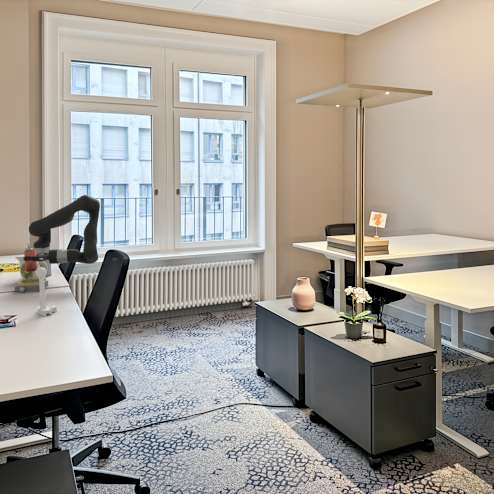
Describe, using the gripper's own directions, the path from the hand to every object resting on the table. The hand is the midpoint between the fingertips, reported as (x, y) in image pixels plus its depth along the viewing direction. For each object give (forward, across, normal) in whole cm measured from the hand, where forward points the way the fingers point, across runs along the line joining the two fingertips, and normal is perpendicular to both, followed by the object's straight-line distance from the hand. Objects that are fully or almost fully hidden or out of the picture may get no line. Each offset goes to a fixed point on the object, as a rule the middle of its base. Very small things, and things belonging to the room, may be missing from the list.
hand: (25, 257), depth 269 cm
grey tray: (-2, +1, +17) cm, 17 cm away
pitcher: (+3, -25, +17) cm, 30 cm away
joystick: (-20, +54, +17) cm, 60 cm away
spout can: (-3, 0, +7) cm, 7 cm away
